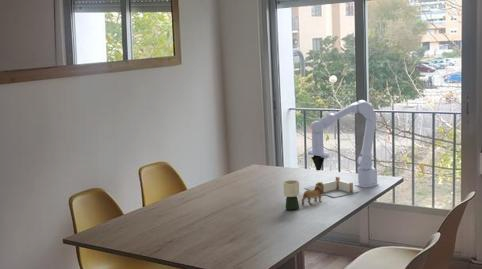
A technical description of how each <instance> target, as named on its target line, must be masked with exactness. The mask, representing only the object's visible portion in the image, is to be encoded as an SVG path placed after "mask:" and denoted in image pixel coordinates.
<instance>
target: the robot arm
mask: <svg viewBox="0 0 482 269" xmlns="http://www.w3.org/2000/svg"><path fill="white" fill-rule="evenodd" d="M351 113H352V114H358V113H359V114H361V115H362V116H363V117H364V118H365V127H364V134H363V140H362V146H361V150H360V154H359V155H358V157H357V164H358V165H359V166H358V167H357V179H358V180H357V181H358V182H357V183H354V186H356V187H360V188H364V189H366V188H371V187H376V186H379V183H378V172H377V169H376V168H375V167H373V160H372V157H373V156H372V149H373V143H374V138H375V130H376V124H377V119H378V118H377V114H376V112H375V111H374V108H373V106H372V105H371V104H369V102H367V101H366V100H364V99H359V100H358V101H355V102H352V103H350V104H349V105H347V106H345V107H344V108H342V109H340V110H339V111H337V112H335V113H332V112H331V113H326V114H325V115H324V116H323V117H321V118H317V120H314V121H312V123H311V124H310V129H311V149H312V150H308V151H307V155H308V156H310V155H311V160H312V161H313V164H314V167H315V171H322V167H323V163H324V161H325V160H326V159H329V156H330V155H329V153H326V152H324V135H323V131H324V129H325V130H326V129H327V128H329V127H331V126H333V125H335V124H336V123H337V121H338V120H340V119H342V118H343V117H346V116H347V115H350V114H351Z"/></svg>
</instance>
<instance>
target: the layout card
mask: <svg viewBox="0 0 482 269" xmlns="http://www.w3.org/2000/svg"><path fill="white" fill-rule="evenodd" d="M315 187H316V185H313V186H308V187H304V188H303V189H304V190H305V191H307V190H310V191H311V190H314V189H315ZM357 193H360V191H359V190H355V189H353V193H350V192H347V191H344V190H340V189H333V190H329V191H325V192H323V194H322V195H323V196H326V197H329V198H333V199H336V198H341V197H344V196H349V195H353V194H357ZM322 195H321V196H322Z"/></svg>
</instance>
